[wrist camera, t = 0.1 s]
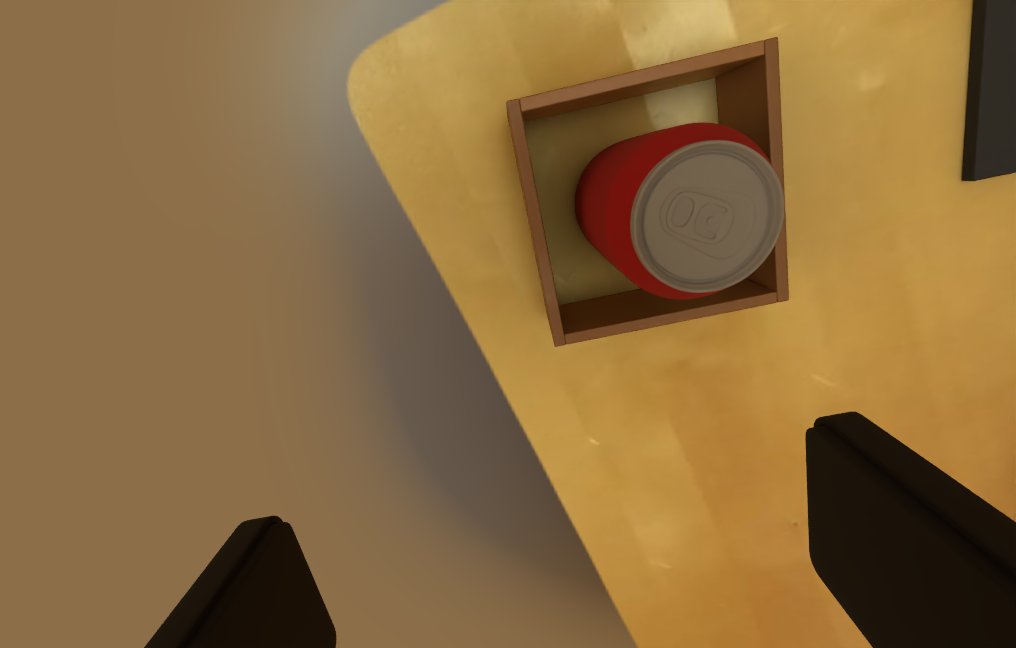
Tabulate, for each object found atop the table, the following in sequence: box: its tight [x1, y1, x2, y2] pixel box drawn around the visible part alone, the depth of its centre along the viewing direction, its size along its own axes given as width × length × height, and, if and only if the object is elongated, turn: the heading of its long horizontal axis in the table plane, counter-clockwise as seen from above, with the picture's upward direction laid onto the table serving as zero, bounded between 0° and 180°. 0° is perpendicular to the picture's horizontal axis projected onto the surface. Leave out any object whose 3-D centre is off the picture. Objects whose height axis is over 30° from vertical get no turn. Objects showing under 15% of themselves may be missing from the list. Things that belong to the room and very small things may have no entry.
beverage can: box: [575, 123, 784, 299], centre depth 23 cm, size 7×7×12 cm
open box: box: [506, 37, 789, 347], centre depth 26 cm, size 12×12×6 cm
